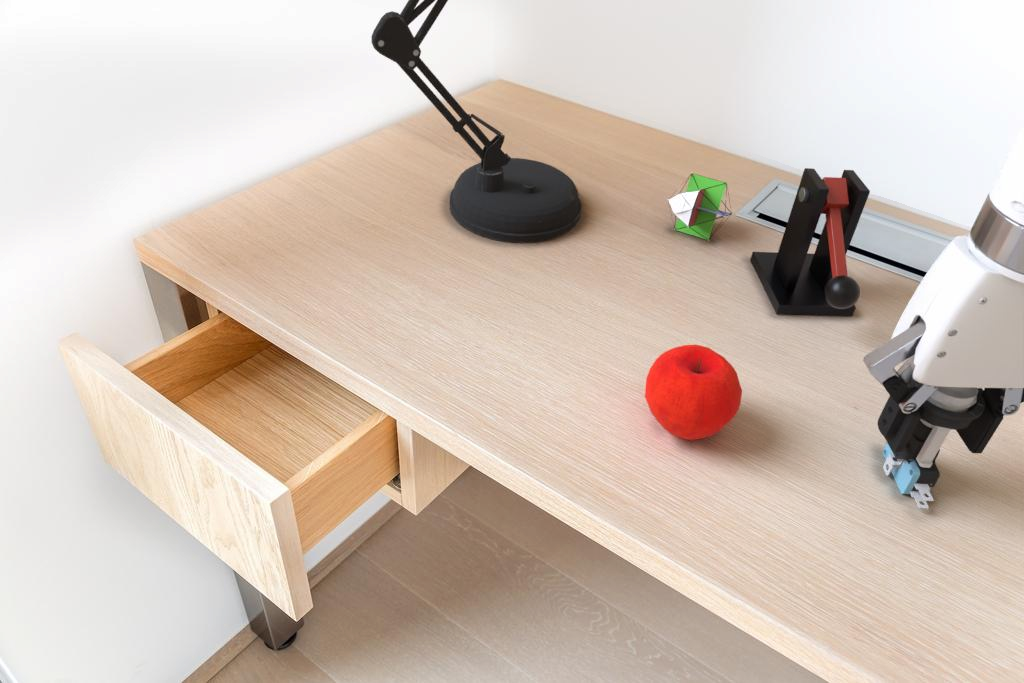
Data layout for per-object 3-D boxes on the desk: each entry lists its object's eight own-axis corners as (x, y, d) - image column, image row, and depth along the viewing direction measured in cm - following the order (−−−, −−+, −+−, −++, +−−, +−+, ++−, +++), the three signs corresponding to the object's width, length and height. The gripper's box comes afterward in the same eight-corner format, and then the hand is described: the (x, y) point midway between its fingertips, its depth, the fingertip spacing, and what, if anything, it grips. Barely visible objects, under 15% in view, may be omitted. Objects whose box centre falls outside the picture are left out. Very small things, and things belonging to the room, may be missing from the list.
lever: (851, 313, 77) (868, 303, 74) (819, 312, 77) (835, 302, 74) (837, 190, 80) (853, 175, 77) (806, 189, 80) (821, 174, 77)
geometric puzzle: (684, 188, 97) (681, 154, 89) (739, 204, 94) (741, 170, 87) (662, 239, 95) (657, 209, 88) (717, 257, 93) (717, 227, 86)
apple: (628, 392, 70) (642, 326, 66) (715, 391, 71) (734, 326, 67) (646, 459, 64) (663, 392, 60) (741, 458, 65) (765, 391, 60)
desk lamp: (648, 185, 101) (731, -255, 73) (586, 290, 82) (667, -251, 54) (473, 144, 107) (487, -277, 79) (378, 233, 88) (352, -280, 60)
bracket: (852, 316, 82) (898, 206, 74) (776, 314, 81) (813, 203, 73) (819, 262, 89) (857, 157, 81) (749, 260, 89) (781, 154, 81)
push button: (954, 515, 62) (1013, 423, 55) (886, 510, 62) (937, 418, 55) (922, 452, 67) (972, 361, 61) (859, 448, 67) (903, 357, 60)
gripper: (1130, 212, 53) (1008, 407, 65) (883, 203, 52) (803, 403, 64) (1211, 275, 48) (1061, 478, 59) (935, 266, 46) (836, 475, 58)
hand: (928, 437), depth 61 cm, fingers closed on push button, 5 cm apart
